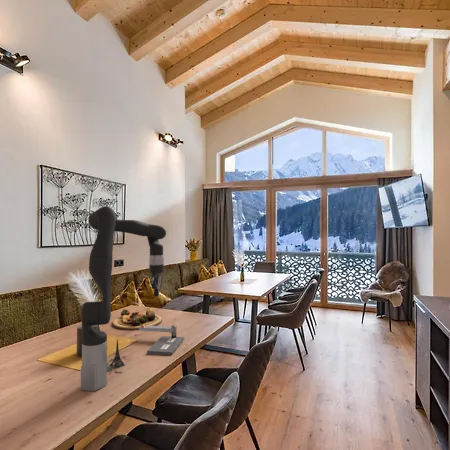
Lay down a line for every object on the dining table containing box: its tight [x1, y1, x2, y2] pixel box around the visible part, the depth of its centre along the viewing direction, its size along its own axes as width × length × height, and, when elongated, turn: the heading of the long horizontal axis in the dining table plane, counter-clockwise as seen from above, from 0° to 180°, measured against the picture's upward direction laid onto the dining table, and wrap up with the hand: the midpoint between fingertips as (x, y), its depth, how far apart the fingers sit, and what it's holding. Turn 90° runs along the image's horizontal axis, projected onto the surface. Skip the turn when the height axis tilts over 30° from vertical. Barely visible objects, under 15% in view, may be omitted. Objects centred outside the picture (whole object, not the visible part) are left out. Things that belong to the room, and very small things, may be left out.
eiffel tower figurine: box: [107, 339, 126, 374], centre depth 142 cm, size 15×10×13 cm
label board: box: [146, 335, 185, 356], centre depth 165 cm, size 22×13×2 cm, turn 172°
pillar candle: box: [75, 324, 99, 358], centre depth 157 cm, size 10×10×15 cm
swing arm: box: [138, 324, 177, 338], centre depth 176 cm, size 21×4×6 cm, turn 81°
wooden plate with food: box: [112, 307, 163, 331], centre depth 209 cm, size 32×32×8 cm
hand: (156, 296), depth 165 cm, fingers closed
